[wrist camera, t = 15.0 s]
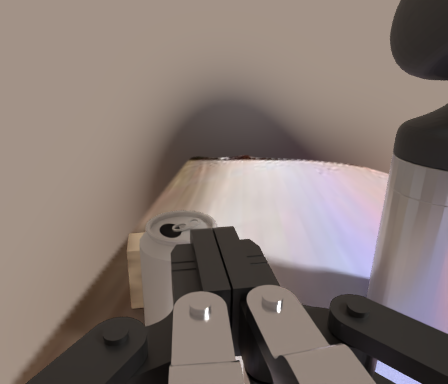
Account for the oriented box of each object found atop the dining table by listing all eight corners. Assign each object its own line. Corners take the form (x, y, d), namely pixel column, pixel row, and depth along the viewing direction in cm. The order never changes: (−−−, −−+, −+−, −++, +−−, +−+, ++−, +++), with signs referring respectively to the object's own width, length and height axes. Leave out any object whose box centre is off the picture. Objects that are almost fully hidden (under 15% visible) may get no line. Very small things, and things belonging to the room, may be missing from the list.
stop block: (217, 279, 45) (218, 227, 43) (223, 299, 42) (224, 244, 39) (133, 287, 44) (128, 233, 41) (131, 308, 40) (126, 251, 37)
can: (140, 316, 39) (132, 210, 35) (208, 301, 41) (209, 201, 37) (152, 370, 32) (144, 248, 28) (233, 349, 35) (236, 234, 30)
